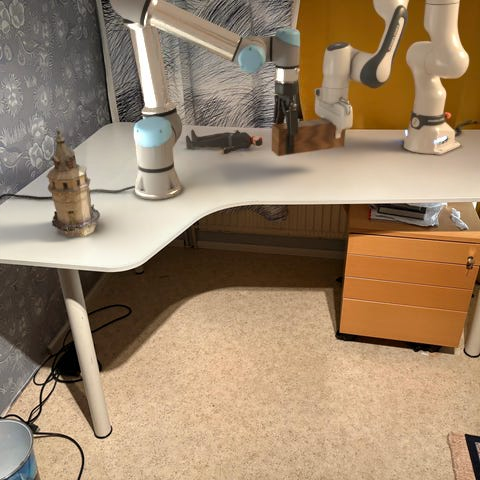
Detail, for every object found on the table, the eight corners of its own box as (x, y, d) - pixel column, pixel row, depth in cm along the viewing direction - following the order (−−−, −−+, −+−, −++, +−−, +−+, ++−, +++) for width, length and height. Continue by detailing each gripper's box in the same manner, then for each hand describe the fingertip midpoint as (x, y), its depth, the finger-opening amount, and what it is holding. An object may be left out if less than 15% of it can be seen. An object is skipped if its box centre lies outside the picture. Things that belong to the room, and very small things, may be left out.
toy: (197, 123, 225) (267, 123, 219) (198, 137, 228) (268, 138, 222) (178, 143, 203) (256, 144, 197) (180, 159, 206) (257, 160, 200)
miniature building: (80, 214, 164) (63, 117, 149) (111, 225, 157) (96, 125, 142) (44, 231, 154) (22, 130, 140) (75, 244, 147) (55, 139, 133)
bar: (278, 156, 179) (278, 129, 174) (271, 150, 183) (271, 124, 179) (344, 146, 186) (346, 120, 181) (335, 141, 191) (337, 116, 186)
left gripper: (311, 86, 163) (308, 157, 174) (284, 73, 180) (282, 138, 191) (289, 89, 161) (287, 160, 172) (263, 75, 178) (263, 141, 189)
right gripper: (359, 100, 171) (355, 142, 178) (328, 86, 188) (326, 125, 195) (341, 103, 169) (338, 145, 176) (312, 88, 186) (310, 127, 193)
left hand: (284, 149), depth 182 cm, fingers open, 7 cm apart
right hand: (331, 134), depth 185 cm, fingers closed on bar, 6 cm apart
